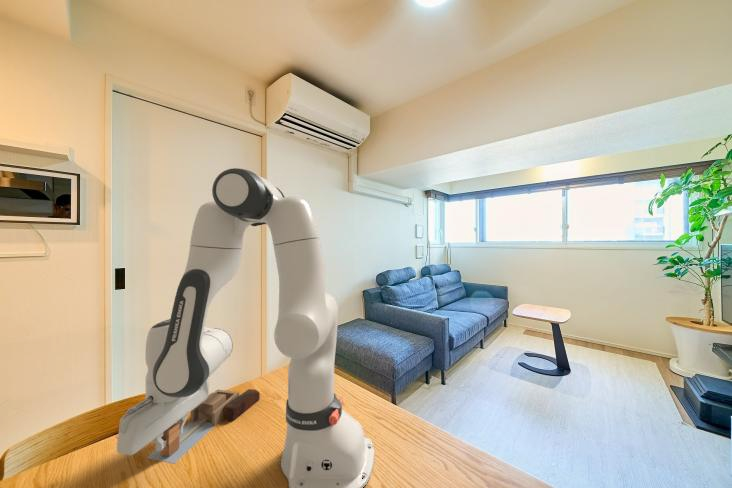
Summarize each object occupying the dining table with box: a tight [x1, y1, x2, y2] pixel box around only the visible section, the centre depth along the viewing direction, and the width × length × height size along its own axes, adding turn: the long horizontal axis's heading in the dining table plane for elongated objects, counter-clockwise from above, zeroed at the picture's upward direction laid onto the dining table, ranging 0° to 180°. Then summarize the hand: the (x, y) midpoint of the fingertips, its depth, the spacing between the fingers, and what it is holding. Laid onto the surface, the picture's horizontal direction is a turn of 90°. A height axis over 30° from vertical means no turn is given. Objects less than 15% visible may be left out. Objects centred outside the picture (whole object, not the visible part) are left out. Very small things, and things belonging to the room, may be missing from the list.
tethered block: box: [160, 392, 226, 457], centre depth 68 cm, size 5×17×6 cm, turn 169°
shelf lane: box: [146, 388, 240, 464], centre depth 69 cm, size 8×22×4 cm, turn 169°
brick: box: [222, 388, 261, 422], centre depth 77 cm, size 11×4×5 cm, turn 161°
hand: (169, 441), depth 61 cm, fingers closed on tethered block, 3 cm apart
